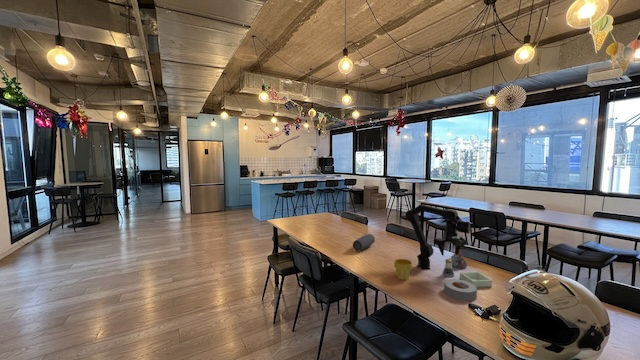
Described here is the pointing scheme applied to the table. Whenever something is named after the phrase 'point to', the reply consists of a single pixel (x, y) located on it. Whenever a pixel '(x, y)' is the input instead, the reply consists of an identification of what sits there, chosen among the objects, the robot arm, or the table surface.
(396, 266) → the plant pot
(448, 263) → the brass cabinet knob
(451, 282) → the tape roll
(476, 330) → the table surface
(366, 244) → the bluetooth speaker
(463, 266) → the carburetor
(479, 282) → the bin
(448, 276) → the disc with square block
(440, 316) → the table surface
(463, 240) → the robot arm
